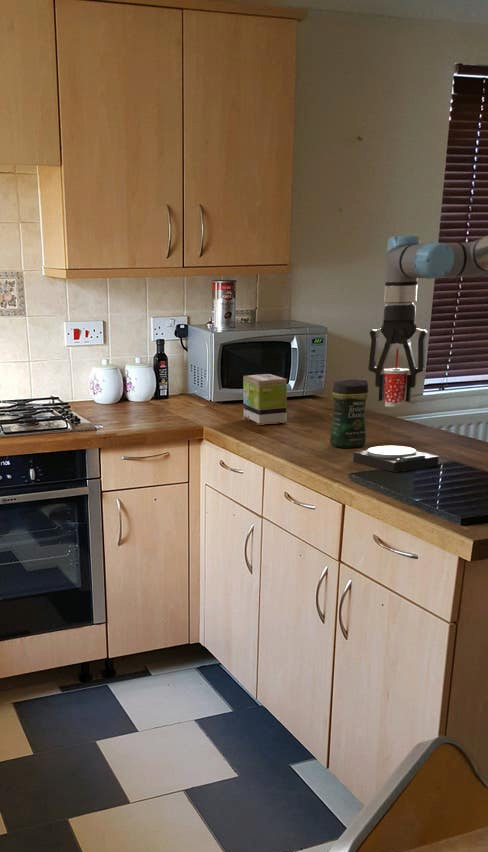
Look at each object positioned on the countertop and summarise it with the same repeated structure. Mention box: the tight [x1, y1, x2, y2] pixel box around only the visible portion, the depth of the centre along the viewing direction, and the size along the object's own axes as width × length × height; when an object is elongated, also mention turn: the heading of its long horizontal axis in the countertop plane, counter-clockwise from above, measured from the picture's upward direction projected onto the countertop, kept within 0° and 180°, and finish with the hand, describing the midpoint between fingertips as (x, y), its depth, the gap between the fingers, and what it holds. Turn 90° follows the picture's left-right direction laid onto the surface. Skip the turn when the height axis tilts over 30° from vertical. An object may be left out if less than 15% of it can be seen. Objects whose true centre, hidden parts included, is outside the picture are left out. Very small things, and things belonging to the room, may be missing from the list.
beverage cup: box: [383, 348, 410, 408], centre depth 218 cm, size 6×6×14 cm
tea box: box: [242, 373, 288, 423], centre depth 288 cm, size 15×10×15 cm
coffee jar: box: [329, 378, 369, 449], centre depth 244 cm, size 10×8×19 cm
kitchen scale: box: [352, 445, 440, 473], centre depth 223 cm, size 16×14×3 cm
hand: (394, 400), depth 219 cm, fingers closed on beverage cup, 6 cm apart
